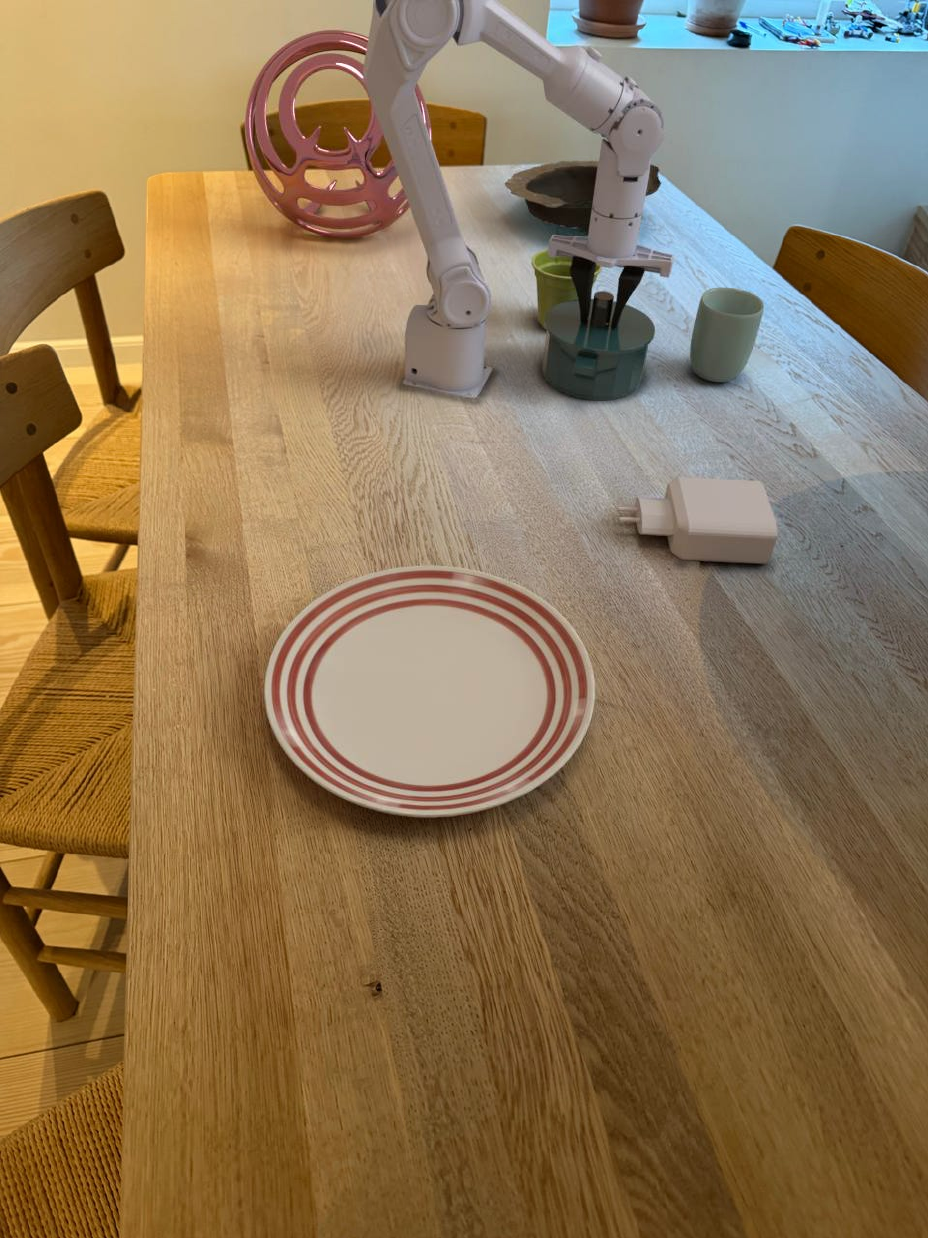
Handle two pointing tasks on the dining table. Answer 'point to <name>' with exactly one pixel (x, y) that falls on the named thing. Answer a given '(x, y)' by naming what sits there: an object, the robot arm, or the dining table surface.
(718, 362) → the cup
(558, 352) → the pot
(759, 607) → the dining table surface
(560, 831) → the dining table surface
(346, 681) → the dinner plate
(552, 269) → the plant pot
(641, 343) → the lid
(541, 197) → the stone bowl
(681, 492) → the charger
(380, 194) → the pink openwork sphere
